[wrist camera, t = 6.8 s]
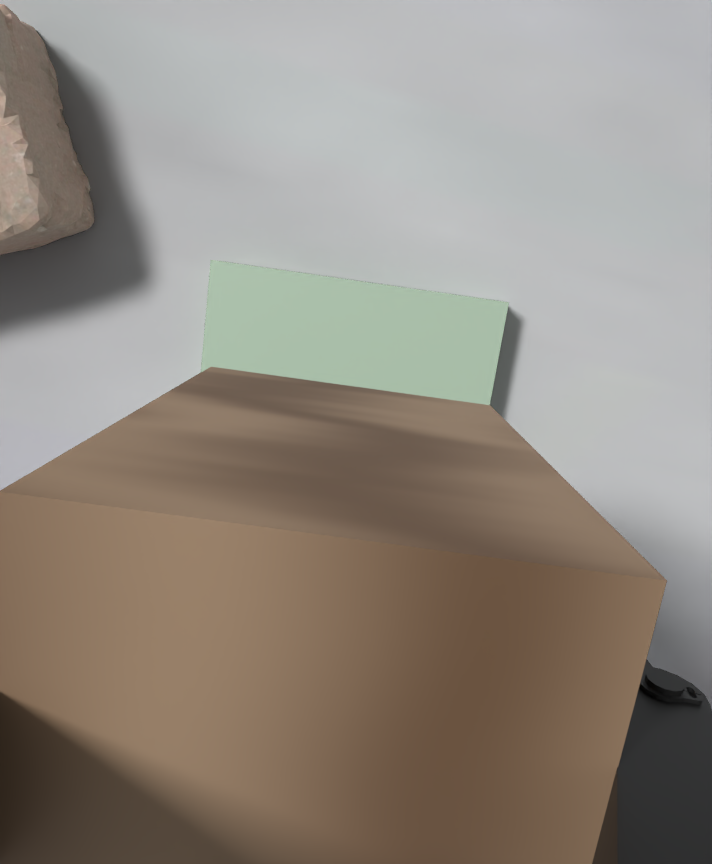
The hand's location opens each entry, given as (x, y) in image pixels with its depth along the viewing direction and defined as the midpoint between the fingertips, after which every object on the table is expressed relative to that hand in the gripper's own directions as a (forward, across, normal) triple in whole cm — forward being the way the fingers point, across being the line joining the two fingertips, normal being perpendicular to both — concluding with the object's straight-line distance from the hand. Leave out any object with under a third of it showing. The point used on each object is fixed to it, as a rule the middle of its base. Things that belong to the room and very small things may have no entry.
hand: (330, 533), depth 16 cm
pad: (+13, 0, 0) cm, 13 cm away
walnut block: (+1, 0, 0) cm, 1 cm away
